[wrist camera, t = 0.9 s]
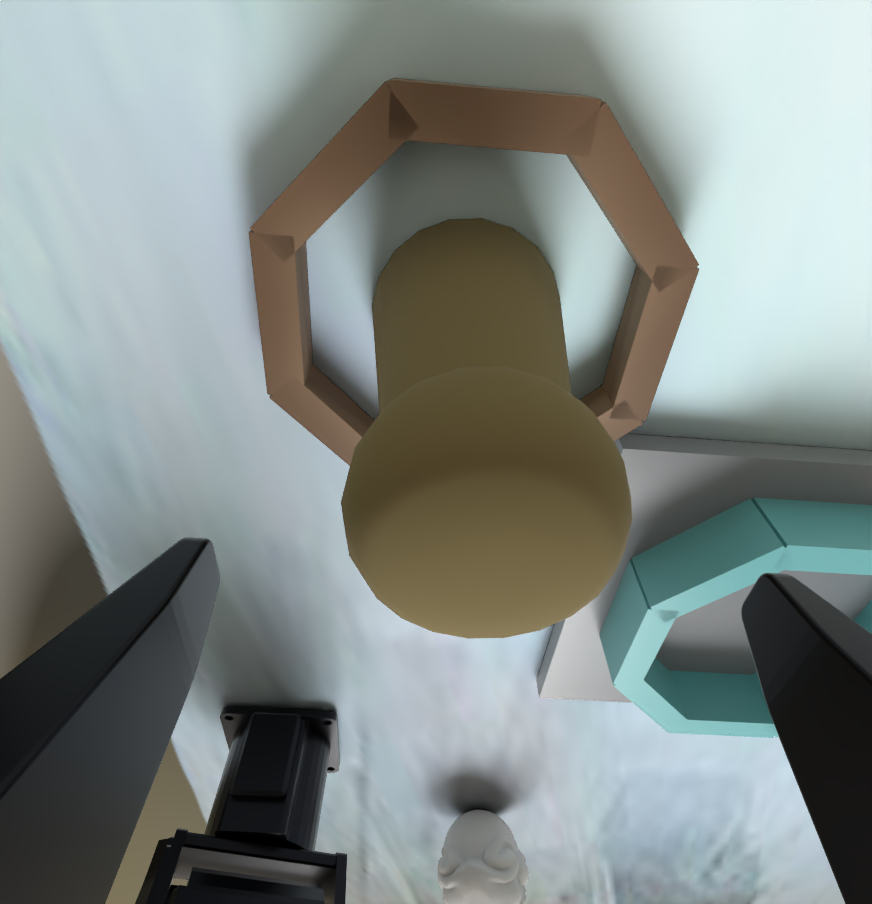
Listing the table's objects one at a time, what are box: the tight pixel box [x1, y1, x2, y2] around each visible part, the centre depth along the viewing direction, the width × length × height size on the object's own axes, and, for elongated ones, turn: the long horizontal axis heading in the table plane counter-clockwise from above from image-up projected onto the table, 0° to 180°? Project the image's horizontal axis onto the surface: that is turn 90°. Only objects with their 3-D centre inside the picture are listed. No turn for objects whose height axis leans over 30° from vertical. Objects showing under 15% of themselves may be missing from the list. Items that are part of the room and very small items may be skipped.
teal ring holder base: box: [537, 434, 872, 738], centre depth 24 cm, size 16×16×4 cm
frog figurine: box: [438, 810, 529, 904], centre depth 37 cm, size 6×7×7 cm
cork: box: [341, 218, 632, 638], centre depth 13 cm, size 6×6×11 cm
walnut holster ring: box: [249, 78, 699, 466], centre depth 17 cm, size 12×12×2 cm
